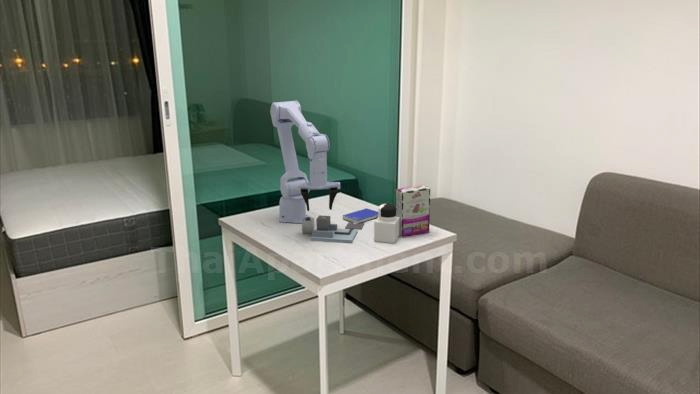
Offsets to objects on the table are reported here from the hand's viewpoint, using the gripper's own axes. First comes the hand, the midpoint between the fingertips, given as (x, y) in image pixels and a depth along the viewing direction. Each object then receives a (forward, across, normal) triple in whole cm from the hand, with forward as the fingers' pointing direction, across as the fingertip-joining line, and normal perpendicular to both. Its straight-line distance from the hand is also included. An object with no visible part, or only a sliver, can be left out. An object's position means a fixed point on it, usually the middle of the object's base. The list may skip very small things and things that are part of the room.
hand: (319, 209), depth 182 cm
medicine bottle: (+9, +22, -8) cm, 25 cm away
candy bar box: (+9, +32, -4) cm, 34 cm away
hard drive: (+9, +17, +14) cm, 24 cm away
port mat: (+9, +13, +6) cm, 17 cm away
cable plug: (+9, -4, +3) cm, 11 cm away
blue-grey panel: (+9, +5, -1) cm, 11 cm away
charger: (+8, +1, -1) cm, 8 cm away
